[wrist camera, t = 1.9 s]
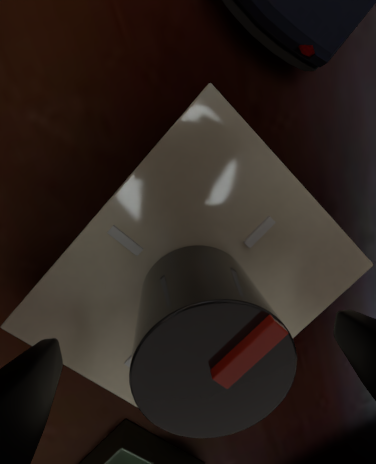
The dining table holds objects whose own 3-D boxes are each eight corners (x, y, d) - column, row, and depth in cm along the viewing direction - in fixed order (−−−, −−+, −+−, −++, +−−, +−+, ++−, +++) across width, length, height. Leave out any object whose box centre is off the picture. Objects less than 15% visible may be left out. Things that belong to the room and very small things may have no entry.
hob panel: (181, 384, 15) (185, 439, 12) (35, 289, 13) (-4, 330, 10) (330, 242, 14) (378, 266, 11) (197, 101, 11) (211, 79, 8)
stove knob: (197, 358, 11) (218, 473, 7) (118, 302, 10) (88, 401, 6) (269, 289, 11) (337, 372, 6) (193, 221, 9) (217, 270, 5)
